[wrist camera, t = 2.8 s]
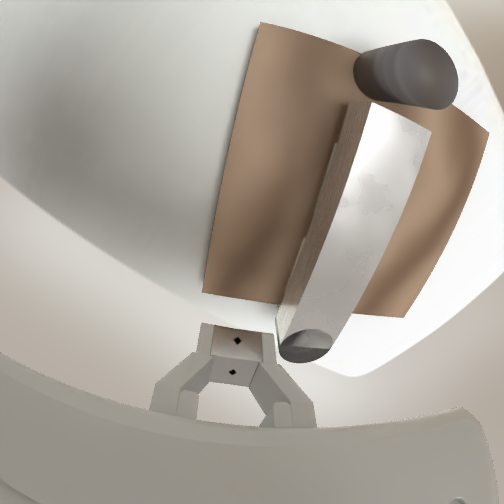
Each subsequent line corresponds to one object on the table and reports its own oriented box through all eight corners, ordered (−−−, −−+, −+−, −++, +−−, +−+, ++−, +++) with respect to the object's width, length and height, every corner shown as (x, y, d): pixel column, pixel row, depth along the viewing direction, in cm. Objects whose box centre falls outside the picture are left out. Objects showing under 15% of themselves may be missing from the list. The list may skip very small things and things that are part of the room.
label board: (203, 281, 23) (192, 350, 17) (261, 18, 13) (274, -27, 7) (397, 308, 26) (427, 361, 20) (480, 121, 16) (541, 144, 9)
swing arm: (350, 100, 14) (371, 102, 11) (404, 123, 14) (431, 131, 12) (269, 332, 23) (272, 361, 20) (313, 337, 23) (320, 364, 21)
